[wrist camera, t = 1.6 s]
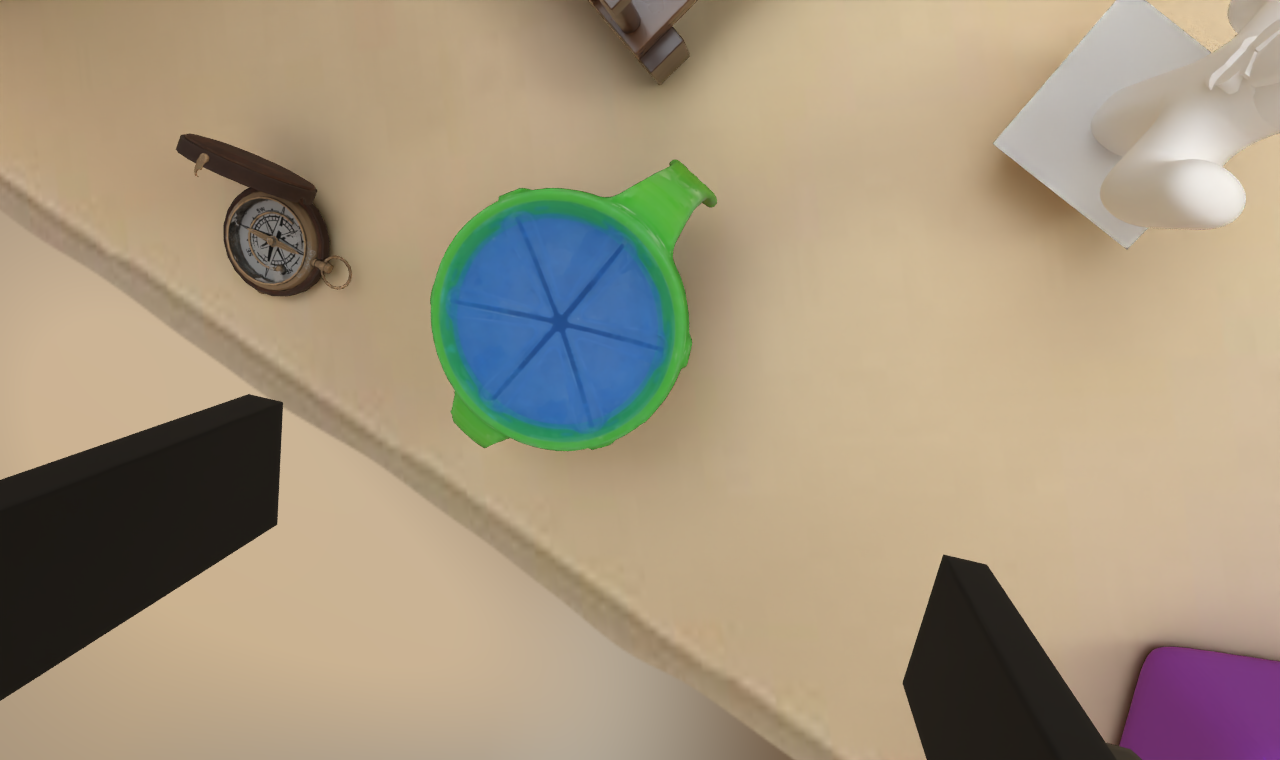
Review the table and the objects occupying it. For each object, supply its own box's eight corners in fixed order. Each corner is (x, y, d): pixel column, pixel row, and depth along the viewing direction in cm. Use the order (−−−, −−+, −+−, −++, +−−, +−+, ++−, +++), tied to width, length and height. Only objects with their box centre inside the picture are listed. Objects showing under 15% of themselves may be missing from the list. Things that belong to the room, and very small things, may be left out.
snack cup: (570, 458, 39) (509, 537, 30) (444, 319, 39) (339, 352, 29) (786, 274, 35) (798, 295, 25) (649, 114, 35) (606, 73, 25)
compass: (222, 269, 40) (110, 279, 33) (258, 137, 38) (146, 118, 31) (343, 328, 40) (255, 351, 33) (386, 199, 38) (301, 194, 31)
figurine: (1233, 92, 30) (1663, -22, 16) (1069, 265, 33) (1311, 300, 19) (1104, -10, 30) (1420, -217, 16) (950, 171, 33) (1101, 134, 19)
